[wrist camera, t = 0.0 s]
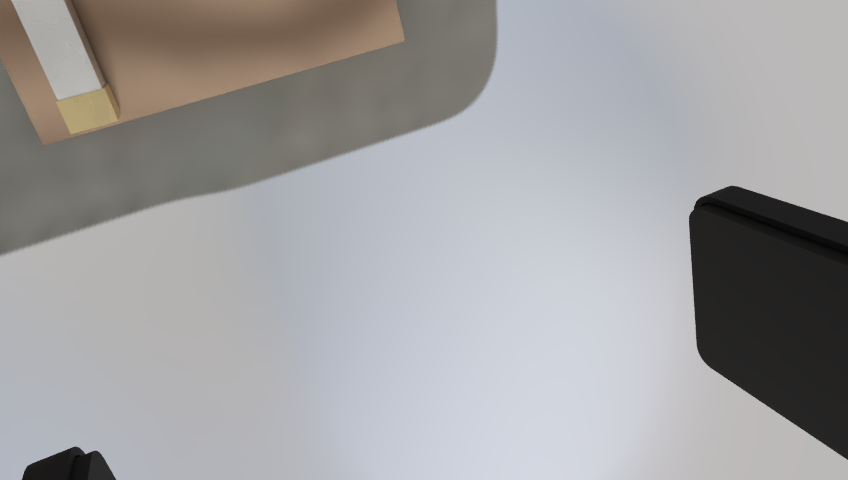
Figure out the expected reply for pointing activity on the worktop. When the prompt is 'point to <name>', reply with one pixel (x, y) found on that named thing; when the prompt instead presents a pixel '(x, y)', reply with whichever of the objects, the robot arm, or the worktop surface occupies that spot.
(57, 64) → the bar
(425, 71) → the worktop surface
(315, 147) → the worktop surface
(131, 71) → the lock board
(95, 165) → the worktop surface
